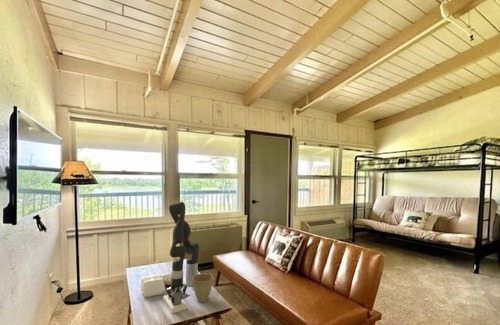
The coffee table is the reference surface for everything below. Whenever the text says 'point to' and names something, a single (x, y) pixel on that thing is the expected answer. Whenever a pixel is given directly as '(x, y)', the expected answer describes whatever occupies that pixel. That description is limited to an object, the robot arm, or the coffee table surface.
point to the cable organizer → (152, 285)
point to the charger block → (177, 298)
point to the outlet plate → (174, 308)
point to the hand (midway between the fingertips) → (176, 301)
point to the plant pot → (202, 286)
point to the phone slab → (185, 295)
